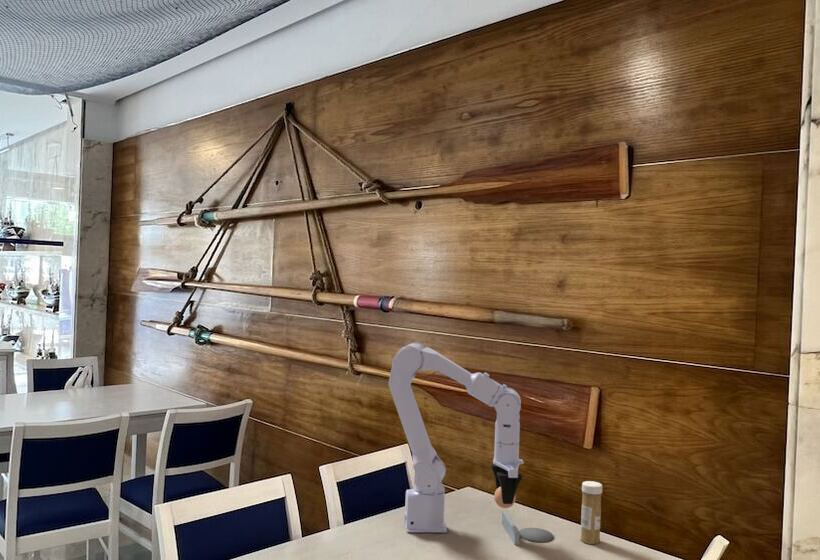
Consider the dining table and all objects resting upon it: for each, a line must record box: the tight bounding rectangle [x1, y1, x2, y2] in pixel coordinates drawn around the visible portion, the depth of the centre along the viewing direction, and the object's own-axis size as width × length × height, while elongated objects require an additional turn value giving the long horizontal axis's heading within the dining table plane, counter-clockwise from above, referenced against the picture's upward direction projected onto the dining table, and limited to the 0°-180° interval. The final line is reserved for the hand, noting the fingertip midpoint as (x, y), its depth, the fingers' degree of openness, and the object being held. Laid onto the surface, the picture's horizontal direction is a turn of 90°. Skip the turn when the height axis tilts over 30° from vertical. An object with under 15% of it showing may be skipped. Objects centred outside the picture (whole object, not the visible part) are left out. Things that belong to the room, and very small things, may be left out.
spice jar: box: [580, 480, 603, 545], centre depth 154 cm, size 5×5×14 cm
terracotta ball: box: [493, 487, 517, 509], centre depth 155 cm, size 5×5×5 cm
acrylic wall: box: [501, 510, 520, 546], centre depth 157 cm, size 1×13×3 cm, turn 5°
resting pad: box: [519, 527, 554, 543], centre depth 156 cm, size 8×8×1 cm
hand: (504, 499), depth 155 cm, fingers closed on terracotta ball, 5 cm apart
